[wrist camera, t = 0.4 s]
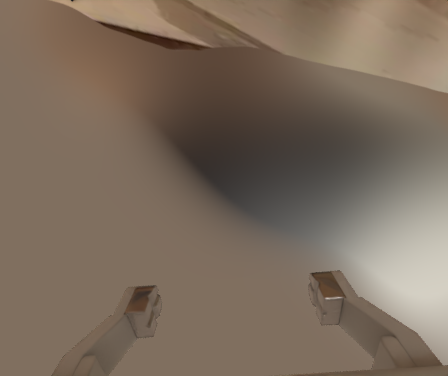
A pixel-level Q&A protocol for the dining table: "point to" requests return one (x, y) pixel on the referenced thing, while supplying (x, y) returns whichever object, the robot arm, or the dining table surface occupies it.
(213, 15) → the dining table surface
